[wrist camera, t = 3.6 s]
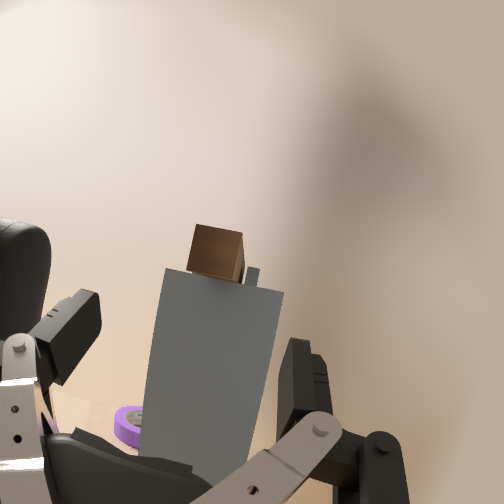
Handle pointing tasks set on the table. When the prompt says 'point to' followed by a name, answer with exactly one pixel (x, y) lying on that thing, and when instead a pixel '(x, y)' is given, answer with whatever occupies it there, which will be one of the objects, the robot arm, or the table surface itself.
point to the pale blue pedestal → (207, 371)
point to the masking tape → (128, 425)
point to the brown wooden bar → (217, 254)
